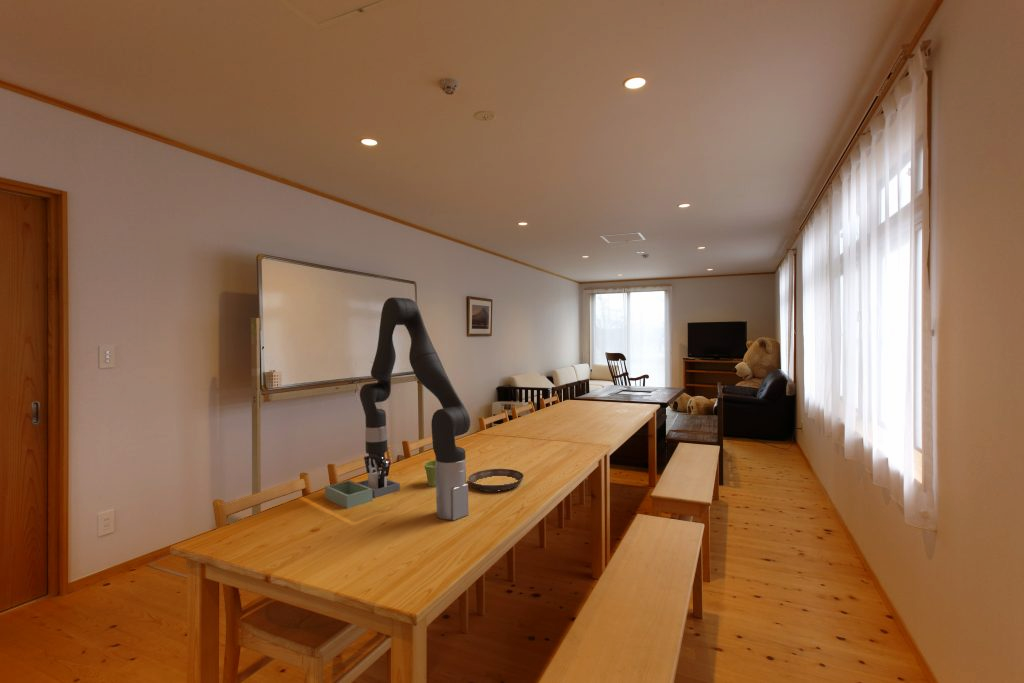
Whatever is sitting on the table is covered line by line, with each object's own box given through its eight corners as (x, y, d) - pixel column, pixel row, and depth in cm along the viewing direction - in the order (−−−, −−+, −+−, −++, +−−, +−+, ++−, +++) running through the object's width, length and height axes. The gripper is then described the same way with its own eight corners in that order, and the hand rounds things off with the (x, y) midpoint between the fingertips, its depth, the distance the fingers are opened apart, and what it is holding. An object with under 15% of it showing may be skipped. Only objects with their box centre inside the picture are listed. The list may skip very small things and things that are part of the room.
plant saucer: (459, 491, 168) (459, 482, 168) (480, 474, 188) (480, 466, 188) (513, 496, 162) (513, 487, 162) (530, 478, 181) (530, 470, 181)
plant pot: (436, 492, 166) (436, 468, 166) (418, 487, 172) (418, 464, 172) (454, 485, 174) (454, 462, 174) (437, 481, 180) (436, 458, 179)
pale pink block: (386, 486, 167) (386, 472, 167) (374, 490, 164) (374, 476, 164) (380, 484, 170) (380, 470, 170) (368, 488, 166) (368, 474, 166)
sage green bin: (372, 503, 156) (372, 488, 156) (347, 511, 150) (347, 496, 150) (349, 494, 166) (349, 480, 166) (325, 501, 160) (325, 486, 160)
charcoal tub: (399, 493, 166) (399, 483, 166) (374, 500, 159) (374, 490, 159) (379, 485, 175) (379, 476, 175) (355, 492, 168) (354, 483, 168)
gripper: (396, 439, 165) (398, 488, 165) (374, 434, 174) (376, 480, 174) (377, 443, 159) (379, 493, 159) (356, 438, 169) (357, 485, 169)
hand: (377, 486), depth 167 cm, fingers closed on pale pink block, 4 cm apart
